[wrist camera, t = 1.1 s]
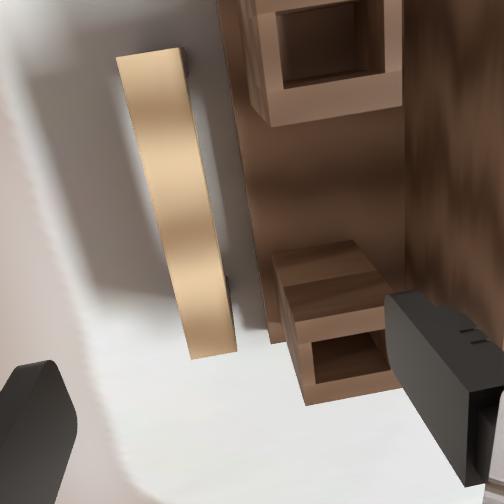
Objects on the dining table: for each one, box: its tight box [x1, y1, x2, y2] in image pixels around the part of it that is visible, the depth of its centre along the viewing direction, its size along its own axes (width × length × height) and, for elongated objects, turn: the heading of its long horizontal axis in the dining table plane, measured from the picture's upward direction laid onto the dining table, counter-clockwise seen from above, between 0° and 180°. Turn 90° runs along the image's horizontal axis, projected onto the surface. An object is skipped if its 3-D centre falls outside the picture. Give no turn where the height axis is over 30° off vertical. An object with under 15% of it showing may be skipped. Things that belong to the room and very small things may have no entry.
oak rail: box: [116, 47, 237, 360], centre depth 29 cm, size 18×3×8 cm, turn 8°
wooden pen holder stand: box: [216, 0, 504, 406], centre depth 26 cm, size 26×12×14 cm, turn 8°
